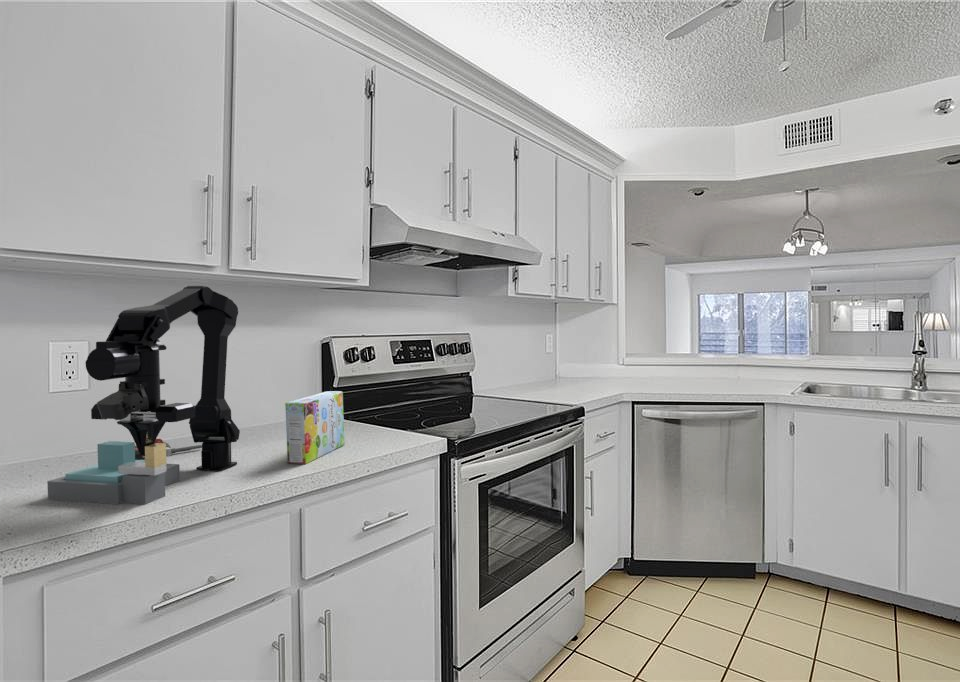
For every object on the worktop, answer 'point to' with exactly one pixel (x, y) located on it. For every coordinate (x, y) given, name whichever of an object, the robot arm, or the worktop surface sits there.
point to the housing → (115, 488)
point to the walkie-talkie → (168, 449)
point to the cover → (107, 463)
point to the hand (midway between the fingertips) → (144, 455)
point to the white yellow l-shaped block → (148, 462)
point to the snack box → (314, 426)
